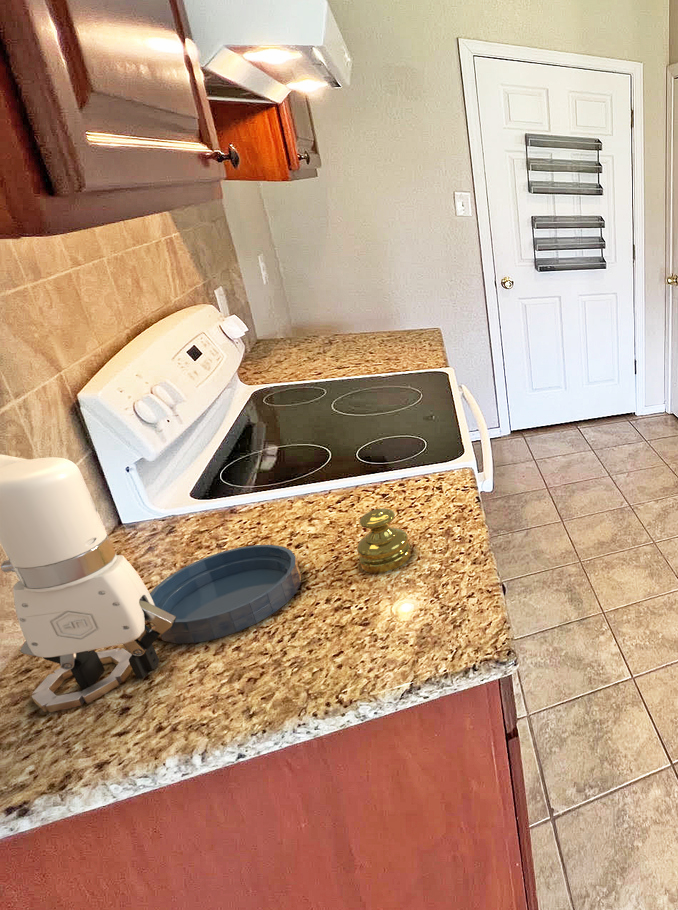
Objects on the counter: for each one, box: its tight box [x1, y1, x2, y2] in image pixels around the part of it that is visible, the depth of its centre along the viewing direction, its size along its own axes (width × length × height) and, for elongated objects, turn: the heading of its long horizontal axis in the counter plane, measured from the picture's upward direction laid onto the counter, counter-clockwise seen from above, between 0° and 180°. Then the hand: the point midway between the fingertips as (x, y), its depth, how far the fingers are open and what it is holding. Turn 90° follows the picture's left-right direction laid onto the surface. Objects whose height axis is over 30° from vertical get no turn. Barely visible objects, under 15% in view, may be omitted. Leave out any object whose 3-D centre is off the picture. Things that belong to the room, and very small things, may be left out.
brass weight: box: [356, 508, 412, 574], centre depth 94 cm, size 7×7×10 cm
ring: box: [31, 647, 133, 713], centre depth 71 cm, size 8×8×2 cm
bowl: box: [148, 544, 302, 645], centre depth 85 cm, size 17×17×4 cm
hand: (122, 677), depth 73 cm, fingers open, 4 cm apart
